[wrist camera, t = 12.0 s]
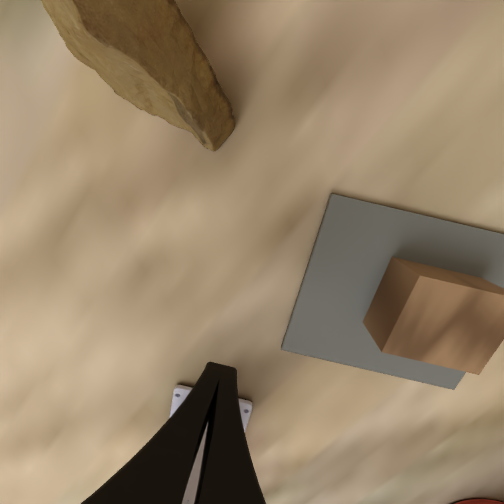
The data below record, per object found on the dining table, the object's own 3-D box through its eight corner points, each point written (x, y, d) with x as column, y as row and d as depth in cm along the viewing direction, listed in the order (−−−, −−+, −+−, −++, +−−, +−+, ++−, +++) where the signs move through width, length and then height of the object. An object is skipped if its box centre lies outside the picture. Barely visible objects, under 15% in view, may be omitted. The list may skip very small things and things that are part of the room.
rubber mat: (450, 386, 22) (453, 389, 21) (281, 346, 22) (281, 349, 21) (544, 243, 17) (551, 245, 17) (330, 193, 17) (332, 193, 17)
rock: (283, 119, 14) (206, -135, 10) (167, 166, 9) (-97, -337, 5) (185, 166, 21) (118, 32, 17) (90, 206, 16) (-36, 27, 12)
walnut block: (362, 322, 20) (445, 341, 20) (381, 352, 16) (480, 375, 16) (391, 256, 18) (483, 278, 18) (419, 275, 14) (532, 301, 15)
